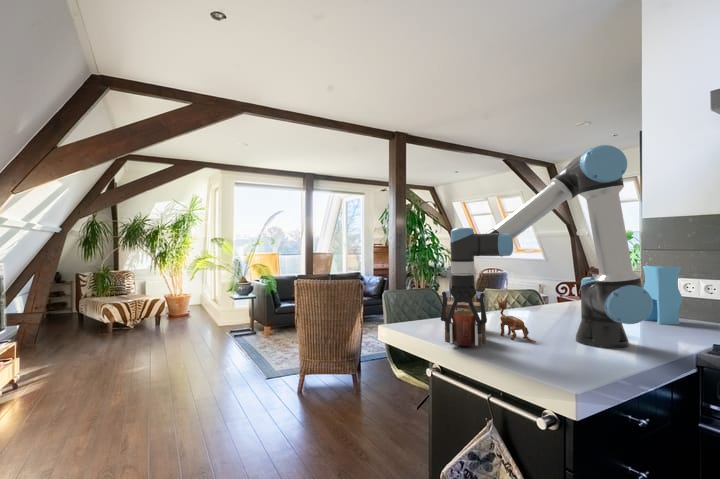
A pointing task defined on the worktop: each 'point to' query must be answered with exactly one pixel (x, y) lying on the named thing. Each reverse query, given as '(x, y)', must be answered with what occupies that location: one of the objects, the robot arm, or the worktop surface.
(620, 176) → the robot arm
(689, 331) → the worktop surface
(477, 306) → the brown wooden frame
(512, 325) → the orange brown animal figurine
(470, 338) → the mug
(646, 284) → the blue arched block
